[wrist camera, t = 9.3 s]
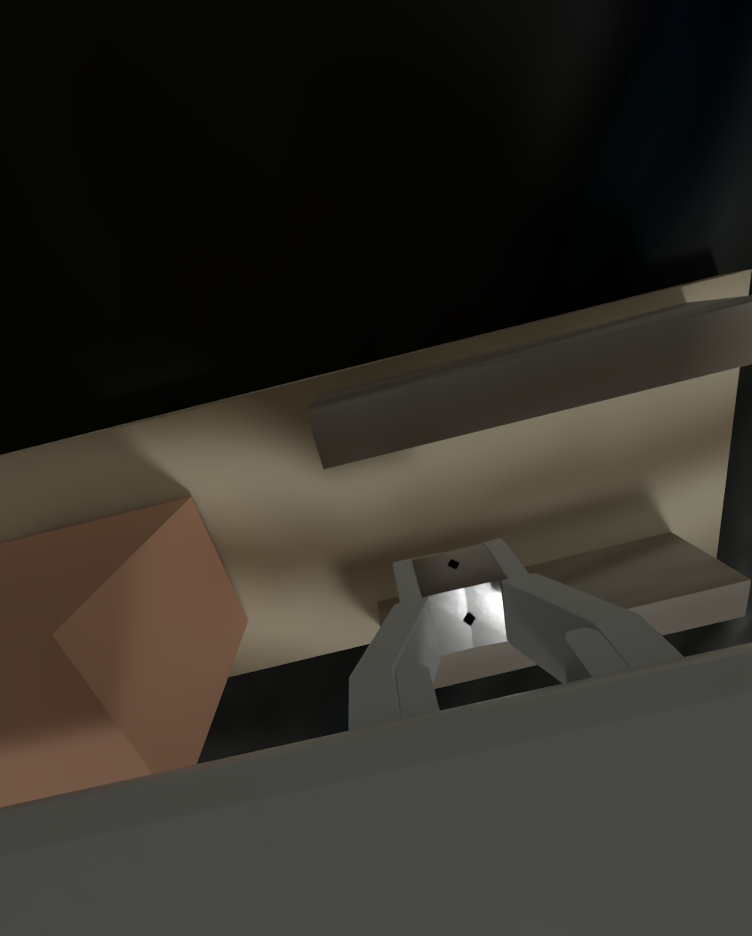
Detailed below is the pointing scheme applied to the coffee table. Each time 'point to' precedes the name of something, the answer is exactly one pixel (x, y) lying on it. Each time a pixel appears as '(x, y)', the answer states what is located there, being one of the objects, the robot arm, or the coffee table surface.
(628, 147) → the coffee table surface
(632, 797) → the robot arm
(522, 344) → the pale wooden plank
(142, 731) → the terracotta block
